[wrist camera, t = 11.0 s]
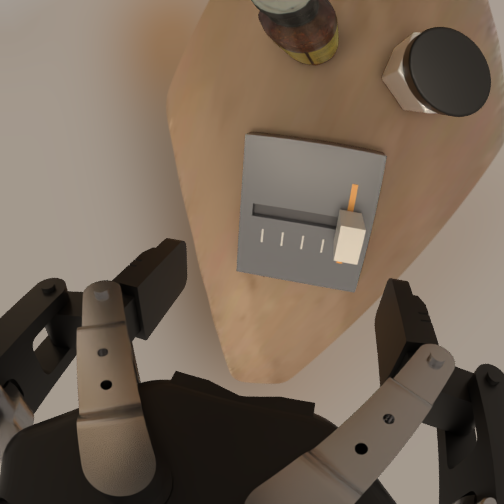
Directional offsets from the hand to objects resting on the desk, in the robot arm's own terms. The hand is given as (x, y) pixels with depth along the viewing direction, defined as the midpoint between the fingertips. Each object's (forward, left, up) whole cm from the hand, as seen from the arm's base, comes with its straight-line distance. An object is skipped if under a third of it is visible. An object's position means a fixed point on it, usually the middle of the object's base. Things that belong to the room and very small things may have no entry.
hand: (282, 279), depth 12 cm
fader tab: (+7, +5, -26) cm, 27 cm away
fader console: (+7, 0, -28) cm, 29 cm away
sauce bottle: (-14, -2, -28) cm, 32 cm away
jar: (-12, +11, -28) cm, 33 cm away
